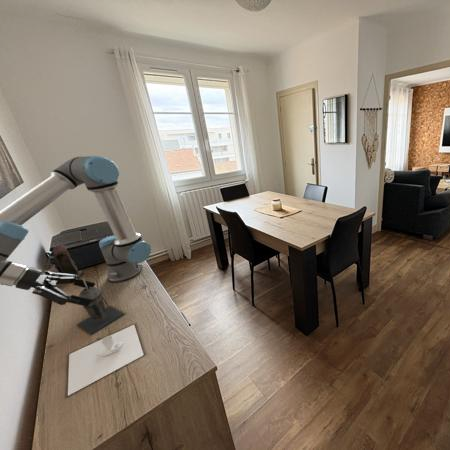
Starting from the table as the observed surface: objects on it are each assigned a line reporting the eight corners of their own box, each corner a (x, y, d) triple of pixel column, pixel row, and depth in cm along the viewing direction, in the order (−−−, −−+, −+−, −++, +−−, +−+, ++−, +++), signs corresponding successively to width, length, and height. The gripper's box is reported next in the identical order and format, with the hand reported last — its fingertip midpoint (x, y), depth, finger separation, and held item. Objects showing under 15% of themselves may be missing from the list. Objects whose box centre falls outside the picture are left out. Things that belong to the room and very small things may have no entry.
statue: (82, 272, 139) (68, 241, 132) (79, 278, 134) (64, 246, 126) (67, 276, 136) (52, 245, 129) (63, 282, 131) (47, 250, 123)
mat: (109, 306, 109) (109, 306, 109) (124, 314, 104) (124, 313, 104) (77, 324, 99) (77, 324, 99) (91, 334, 94) (91, 333, 94)
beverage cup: (88, 328, 97) (68, 287, 89) (91, 317, 102) (72, 278, 95) (110, 320, 100) (92, 280, 93) (112, 310, 106) (95, 272, 99)
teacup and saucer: (126, 348, 86) (122, 340, 85) (98, 362, 82) (93, 353, 80) (122, 335, 93) (119, 326, 91) (96, 347, 88) (92, 338, 86)
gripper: (25, 270, 93) (89, 287, 106) (0, 304, 74) (81, 320, 87) (38, 254, 94) (100, 273, 107) (15, 284, 75) (94, 302, 88)
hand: (92, 294), depth 97 cm, fingers open, 13 cm apart
